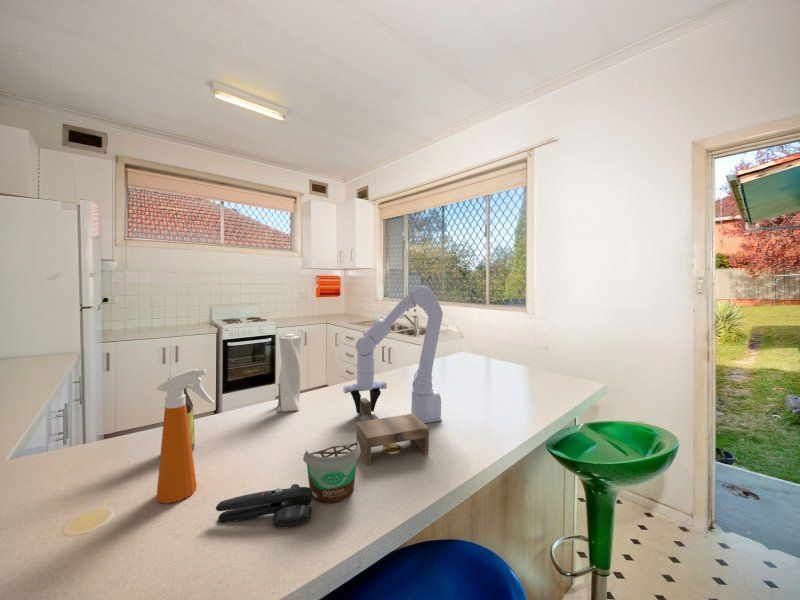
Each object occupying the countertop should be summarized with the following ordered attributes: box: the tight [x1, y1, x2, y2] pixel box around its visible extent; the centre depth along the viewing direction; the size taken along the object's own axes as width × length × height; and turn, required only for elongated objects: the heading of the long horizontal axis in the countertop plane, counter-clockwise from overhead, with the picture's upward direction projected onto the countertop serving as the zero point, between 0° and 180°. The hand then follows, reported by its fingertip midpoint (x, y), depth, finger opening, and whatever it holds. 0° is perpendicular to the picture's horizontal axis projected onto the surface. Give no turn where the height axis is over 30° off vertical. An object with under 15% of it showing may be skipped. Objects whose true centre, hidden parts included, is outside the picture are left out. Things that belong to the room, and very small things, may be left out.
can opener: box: [215, 483, 313, 529], centre depth 64 cm, size 18×7×6 cm, turn 95°
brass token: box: [382, 443, 402, 456], centre depth 90 cm, size 5×5×1 cm
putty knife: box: [359, 397, 380, 422], centre depth 105 cm, size 5×22×5 cm, turn 23°
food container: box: [302, 439, 361, 505], centre depth 70 cm, size 12×6×10 cm, turn 117°
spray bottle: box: [156, 368, 215, 504], centre depth 70 cm, size 7×11×26 cm, turn 107°
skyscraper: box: [276, 329, 303, 414], centre depth 117 cm, size 8×8×28 cm
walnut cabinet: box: [355, 413, 430, 467], centre depth 89 cm, size 17×11×7 cm, turn 113°
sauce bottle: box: [167, 375, 196, 451], centre depth 87 cm, size 7×6×20 cm
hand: (365, 411), depth 113 cm, fingers open, 4 cm apart
